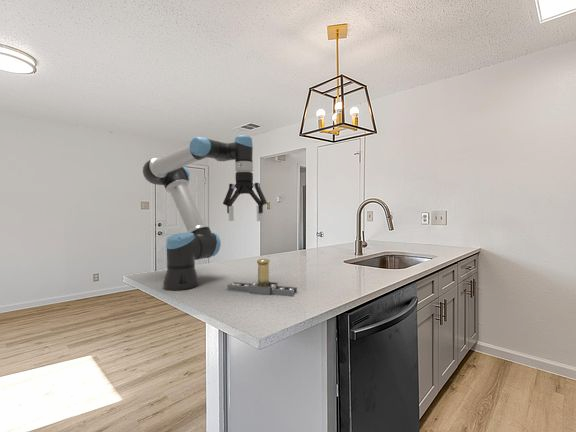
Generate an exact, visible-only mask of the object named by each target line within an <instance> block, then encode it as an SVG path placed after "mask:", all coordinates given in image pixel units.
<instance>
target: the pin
mask: <svg viewBox="0 0 576 432" xmlns="http://www.w3.org/2000/svg"><path fill="white" fill-rule="evenodd" d="M256 263H257V281H258V286H268V287H269V282H270V279H269V278H270V271H269V270H270V269H269V268H270V265H269V263H270V259H269V258H259V259H257V260H256Z"/></svg>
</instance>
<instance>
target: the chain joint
mask: <svg viewBox="0 0 576 432" xmlns="http://www.w3.org/2000/svg"><path fill="white" fill-rule="evenodd" d="M278 284H279V283H278V281H277V282H275V281H269V287H268V286H258V280H257V281H256V282H252V283H249V282H238V281H237V282H236V281H233V282H232V283H230V284H227V285H226V287H227V289H226V290H227V291H232V292H233V291H235V292H243V293H244V292H245V293H249V294H255V295H264V296H265V295H267V296H271V295H276V296H287V297H293V296H294V295H295V294H297V293H298V287H297V286H285V285H278Z"/></svg>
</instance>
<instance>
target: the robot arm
mask: <svg viewBox="0 0 576 432" xmlns="http://www.w3.org/2000/svg"><path fill="white" fill-rule="evenodd" d="M253 146H254V145H253V138H252V137H251V136H249V135H246V134H245V135H237V136H235V137H234V142H227V143H226V142H221V141H218V140H214V139H209V138H206V137H202V136H195V137H193V138H192V139H191V140H190V141H189V144H188V145H186V146H184V147H182V148H180V149H177V150H174V151H172V152H170V153H168V154H165V155H164V156H160V157H153V158H152V159H148V161H146V162H145V163H144V164H143V167H142V174H143V177H144V179H145V180H146V181H147V182H149V183H150V184H153V185H157V186H164V189H165V191H166V192H167V193H170V195H171V196H172V197H171V198H172V199H173V201H174V203H175V206H176V208H177V210H178V212H179V214H180V215H179V216H180V217H181V219H182V221H183V224H184V226H185V229H186V231H187V232H182V233H181V232H180V233H179V232H178V233H175V234H172V235H169V236H168V237H167V238H166V267H167V268H166V273H165V276H164V278H163V279H164V281H162V287H163V289H164V290H167V291H183V290H184V291H185V290H190V289H194V288H196V287H198V286H199V285H200V279H199V277H198V272H197V270H196V266H195V265H196V264H195V263H196V262H195V261H198V260H202V259H209V258H212V257H215V256H216V255H218V253H219V251H220V250H221V247H222V246H221V238H220V236H219V234H217V233H214V232H212V230H211V228H210V227H209V226H207V225H205V223H204V220H203V219H202V217H201V214H200V212H199V210H198V207H197V206H196V204H195V200H194V199H193V196H192V194H191V192H190V190H189V188H188V186H189V185H190V183H189V182H190V172H189V169H188V168H187V166H188V165H191V164H193V163H197V161H198V162H199V161H201V160H204V159H206V158H209V159H214V160H216V161H217V162H228V161H235V163H234V164H235V166H234V167H235V176H234V177H235V184H234V183H229V185H228V190H227V192H226V195H225V198H224V200H223V203H222V204H223V205H225V206H226V207H227V208H226V210H227V214H228V222H232V221H234V220H235V219H234V206H233V204H234V203H235V202H236V200H237V199H238V197H239V196H240V195H243V194H249V195H250V197H252V199H253V200H254V201H255V203H256V204H257V205H256V222H262V214H263V213H264V209H263V208H264V206H265V205H267V204H268V202H267V199H266V198H265V195H264V192H263V191H262V189H261V184H260V182H255V183H254V182H253V181H254V173H253V172H254V167H253V166H254V163H253V155H254V154H253V150H254V149H253V148H254V147H253ZM253 188H254V189H255V191H256V193H255V191H254V189H253ZM234 190H235V191H234Z"/></svg>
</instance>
